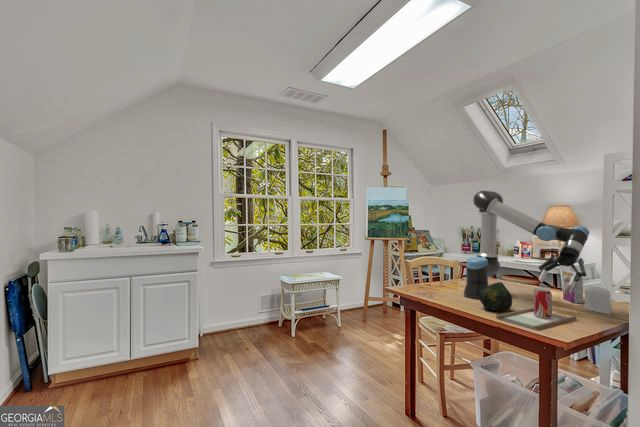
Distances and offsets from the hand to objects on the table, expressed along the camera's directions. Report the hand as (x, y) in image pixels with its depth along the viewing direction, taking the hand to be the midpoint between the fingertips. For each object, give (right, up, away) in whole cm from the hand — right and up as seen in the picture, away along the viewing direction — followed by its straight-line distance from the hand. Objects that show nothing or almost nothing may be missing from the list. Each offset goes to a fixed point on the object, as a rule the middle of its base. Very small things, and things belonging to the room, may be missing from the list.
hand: (555, 283), depth 155 cm
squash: (-24, -16, +9) cm, 30 cm away
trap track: (-14, -15, -7) cm, 22 cm away
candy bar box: (+28, -16, +25) cm, 41 cm away
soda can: (-10, -15, -5) cm, 19 cm away
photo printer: (+24, -15, +4) cm, 29 cm away
